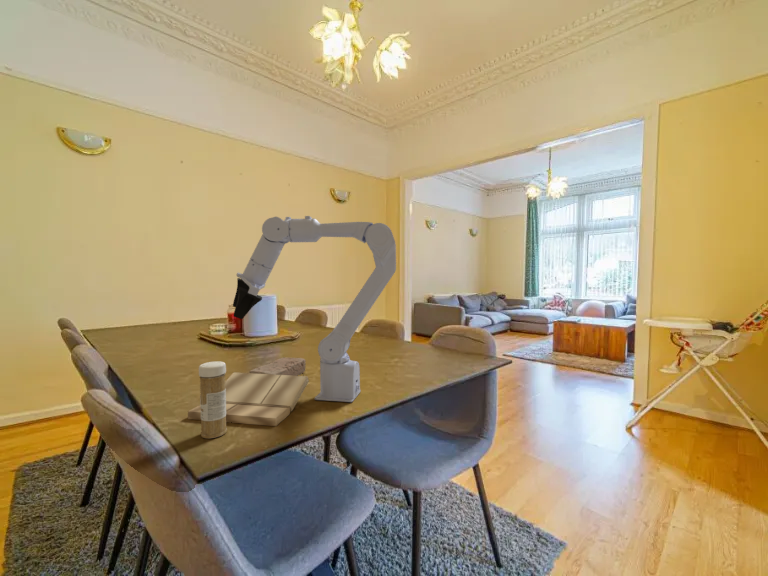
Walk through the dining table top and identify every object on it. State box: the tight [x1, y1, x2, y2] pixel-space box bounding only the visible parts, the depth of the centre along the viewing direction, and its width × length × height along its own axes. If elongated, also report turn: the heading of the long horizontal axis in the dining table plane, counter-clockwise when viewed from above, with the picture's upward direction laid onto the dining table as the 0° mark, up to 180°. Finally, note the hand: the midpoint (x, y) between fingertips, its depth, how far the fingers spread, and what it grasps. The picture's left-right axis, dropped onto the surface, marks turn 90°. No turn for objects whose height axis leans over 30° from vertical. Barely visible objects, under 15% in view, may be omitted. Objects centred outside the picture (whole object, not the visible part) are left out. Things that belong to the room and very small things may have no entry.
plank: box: [225, 372, 310, 413], centre depth 81 cm, size 20×10×2 cm, turn 79°
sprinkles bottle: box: [198, 360, 228, 439], centre depth 65 cm, size 5×5×14 cm
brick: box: [248, 357, 306, 376], centre depth 100 cm, size 17×8×5 cm, turn 160°
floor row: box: [187, 402, 291, 427], centre depth 73 cm, size 20×6×2 cm, turn 79°
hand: (237, 312), depth 86 cm, fingers open, 7 cm apart
